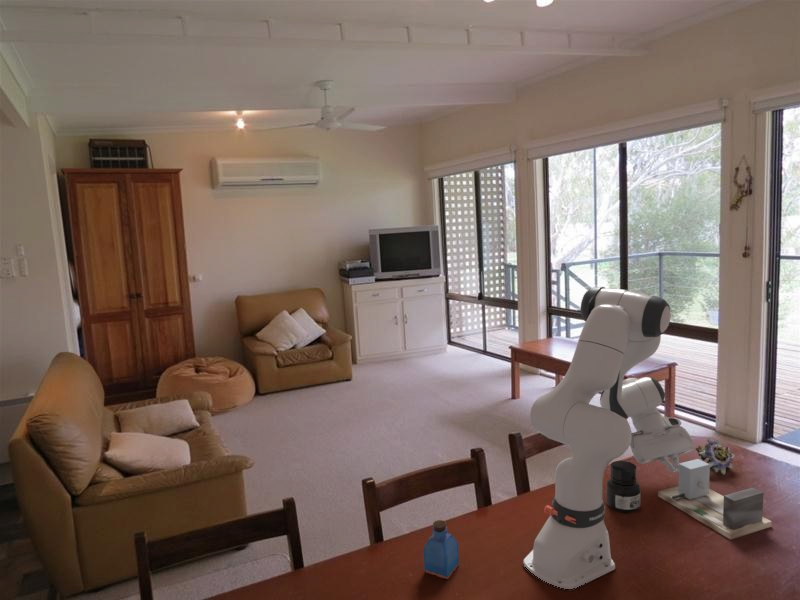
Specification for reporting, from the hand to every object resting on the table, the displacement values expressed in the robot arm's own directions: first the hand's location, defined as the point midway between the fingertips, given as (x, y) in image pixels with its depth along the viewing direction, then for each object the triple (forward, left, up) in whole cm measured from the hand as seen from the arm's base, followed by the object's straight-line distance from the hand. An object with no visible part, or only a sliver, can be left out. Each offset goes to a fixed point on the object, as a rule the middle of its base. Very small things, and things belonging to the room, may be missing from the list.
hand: (676, 471), depth 164 cm
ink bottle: (-18, +6, -6) cm, 20 cm away
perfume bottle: (-75, +21, -6) cm, 78 cm away
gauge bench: (-4, -12, -6) cm, 14 cm away
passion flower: (+22, -2, -6) cm, 23 cm away
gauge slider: (-4, -6, -4) cm, 8 cm away
